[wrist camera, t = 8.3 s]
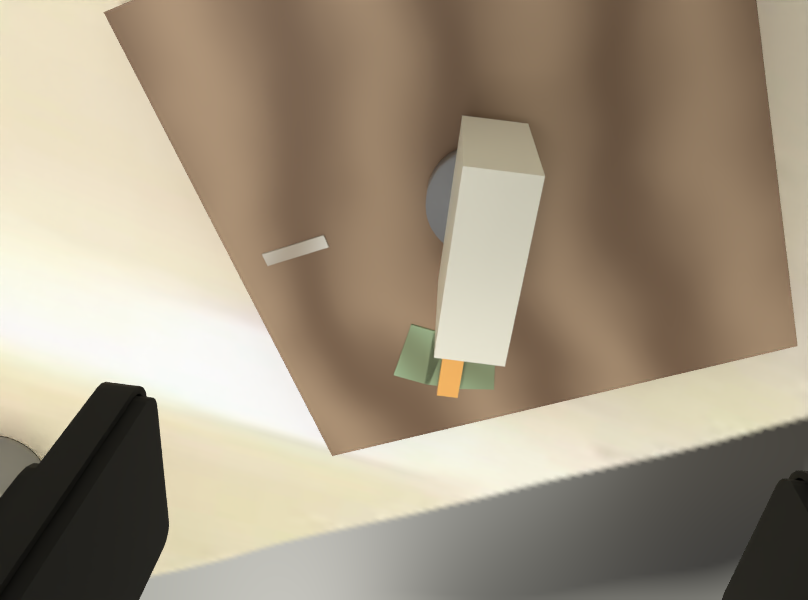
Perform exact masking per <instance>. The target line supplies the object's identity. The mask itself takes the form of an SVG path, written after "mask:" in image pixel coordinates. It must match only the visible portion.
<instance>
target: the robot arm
mask: <svg viewBox="0 0 808 600" xmlns="http://www.w3.org/2000/svg"><path fill="white" fill-rule="evenodd" d="M168 529H169V518H168V508H167V498H166V488H165V478H164V469H163V459H162V449H161V439H160V429H159V419H158V409H157V403H156V400H155V399H154V398H151V397H147V396H146V391H145V390H144V388H143V387H141V386H133V385H125V384H118V383H110V382H104V383H101V384H100V385H99V386H98V387H97V389H96V390H95V391H94V393H93V394H92V395H91V396H90V398H89V399H88V400H87V402H86V403H85V404H84V406H83V407H82V408H81V410H80V411H79V412H78V413H77V415H76V416H75V417H74V419H73V420H72V421H71V423H70V424H69V425H68V427H67V428H66V429H65V431H64V432H63V433H62V434H61V436H60V437H59V438H58V440H57V441H56V442H55V444H54V445H53V446H52V448H51V449H50V450H49V451H48V453H47V454H46V455H45V457H44V458H43V459H42V461H41V462H40V463H33V464H31V465H29V466H27V467H25V468H24V469H23V470H22V471H21V472H20V473H19V474H18V475H17V477H16V478H15V479H14V481H13V482H12V483H11V484H10V486H9V487H8V488H7V489H6V491H5V492H4V493H3V495H2V496H1V497H0V600H139V599H140V596H141V594H142V592H143V590H144V588H145V586H146V584H147V582H148V580H149V578H150V575H151V573H152V571H153V569H154V567H155V565H156V563H157V561H158V558H159V556H160V554H161V552H162V550H163V548H164V545H165V543H166V539H167V535H168ZM722 600H808V471H795V472H794V473H792V474H791V476H790V477H789V479H782V480H780V481H779V482H778V484H777V485H776V487H775V490H774V491H773V494H772V496H771V498H770V500H769V502H768V504H767V506H766V508H765V510H764V512H763V514H762V516H761V518H760V521H759V522H758V524H757V527H756V529H755V531H754V533H753V535H752V537H751V539H750V541H749V543H748V545H747V547H746V550H745V551H744V553H743V555H742V558H741V559H740V562H739V564H738V566H737V568H736V570H735V572H734V574H733V576H732V578H731V580H730V582H729V584H728V586H727V588H726V590H725V592H724V595H723V598H722Z"/></svg>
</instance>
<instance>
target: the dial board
mask: <svg viewBox="0 0 808 600" xmlns="http://www.w3.org/2000/svg"><path fill="white" fill-rule="evenodd" d="M104 14H105V16H106V17H107V19H108V21H109V23H110V25H111V27H112V29H113V31H114V33H115V35H116V37H117V39H118V41H119V43H120V45H121V47H122V49H123V50H124V52H125V54H126V56H127V58H128V60H129V62H130V64H131V66H132V68H133V70H134V72H135V74H136V76H137V78H138V80H139V82H140V83H141V85H142V87H143V89H144V91H145V93H146V95H147V97H148V99H149V101H150V103H151V105H152V107H153V109H154V111H155V113H156V115H157V117H158V118H159V120H160V122H161V124H162V126H163V128H164V130H165V132H166V134H167V136H168V138H169V140H170V142H171V144H172V146H173V148H174V150H175V151H176V153H177V155H178V157H179V159H180V161H181V163H182V165H183V167H184V169H185V171H186V173H187V175H188V177H189V179H190V181H191V183H192V184H193V186H194V188H195V190H196V192H197V194H198V196H199V198H200V200H201V202H202V204H203V206H204V208H205V210H206V212H207V214H208V216H209V217H210V219H211V221H212V223H213V225H214V227H215V229H216V231H217V233H218V235H219V237H220V239H221V241H222V243H223V245H224V247H225V249H226V250H227V252H228V254H229V256H230V258H231V260H232V262H233V264H234V266H235V268H236V270H237V272H238V274H239V276H240V278H241V280H242V282H243V284H244V285H245V287H246V289H247V291H248V293H249V295H250V297H251V299H252V301H253V303H254V305H255V307H256V309H257V311H258V313H259V315H260V317H261V318H262V320H263V322H264V324H265V326H266V328H267V330H268V332H269V334H270V336H271V338H272V340H273V342H274V344H275V346H276V348H277V350H278V351H279V353H280V355H281V357H282V359H283V361H284V363H285V365H286V367H287V369H288V371H289V373H290V375H291V377H292V379H293V381H294V383H295V384H296V386H297V388H298V390H299V392H300V394H301V396H302V398H303V400H304V402H305V404H306V406H307V408H308V410H309V412H310V414H311V416H312V417H313V419H314V421H315V423H316V425H317V427H318V429H319V431H320V433H321V435H322V437H323V439H324V441H325V443H326V445H327V447H328V449H329V450H330V452H331V454H332V456H334V455H338V454H342V453H347V452H351V451H355V450H359V449H364V448H368V447H372V446H376V445H381V444H385V443H389V442H393V441H397V440H402V439H406V438H410V437H414V436H419V435H423V434H427V433H431V432H435V431H440V430H444V429H448V428H452V427H457V426H461V425H465V424H469V423H474V422H478V421H482V420H486V419H490V418H495V417H499V416H503V415H507V414H512V413H516V412H520V411H524V410H529V409H533V408H537V407H541V406H545V405H550V404H554V403H558V402H562V401H567V400H571V399H575V398H579V397H583V396H588V395H592V394H596V393H600V392H605V391H609V390H613V389H617V388H622V387H626V386H630V385H634V384H638V383H643V382H647V381H651V380H655V379H660V378H664V377H668V376H672V375H677V374H681V373H685V372H689V371H693V370H698V369H702V368H706V367H710V366H715V365H719V364H723V363H727V362H731V361H736V360H740V359H744V358H748V357H753V356H757V355H761V354H765V353H770V352H774V351H778V350H782V349H786V348H791V347H795V346H797V338H796V330H795V321H794V313H793V305H792V296H791V288H790V280H789V271H788V263H787V254H786V246H785V238H784V229H783V221H782V212H781V204H780V196H779V187H778V179H777V170H776V162H775V154H774V145H773V137H772V128H771V120H770V112H769V103H768V95H767V87H766V78H765V70H764V61H763V53H762V45H761V36H760V28H759V19H758V11H757V3H756V0H132V1H130V2H127V3H125V4H123V5H120V6H118V7H115V8H113V9H111V10H108V11H106V12H104ZM462 115H463V116H471V117H479V118H487V119H495V120H503V121H511V122H520V123H528V124H529V128H530V131H531V134H532V137H533V140H534V143H535V146H536V149H537V153H538V156H539V159H540V162H541V165H542V168H543V171H544V174H545V179H544V184H543V188H542V193H541V198H540V203H539V207H538V212H537V217H536V222H535V226H534V231H533V236H532V240H531V245H530V250H529V255H528V259H527V264H526V269H525V273H524V278H523V283H522V288H521V292H520V297H519V302H518V307H517V311H516V316H515V321H514V325H513V330H512V335H511V340H510V344H509V349H508V354H507V358H506V363H505V367H504V366H496V365H488V364H480V363H472V362H464V364H463V370H462V376H461V381H460V387H459V393H458V398H454V397H446V396H438V395H437V386H438V380H439V373H440V367H441V361H442V359H441V358H434V347H435V329H436V311H437V293H438V278H439V271H440V264H441V257H442V250H443V244H444V243H443V242H441V240H440V239H439V238H438V237H437V236H436V235H435V233H434V232H433V230H432V229H431V227H430V225H429V222H428V219H427V215H426V195H427V187H428V182H429V179H430V177H431V174H432V172H433V170H434V169H435V167H436V166H437V165H438V163H439V162H440V161H441V160H442V159H443V158H444V157H446V156H447V155H448V154H449V153H451V152H453V151H454V150H456V149H457V148H458V141H459V134H460V127H461V120H462Z"/></svg>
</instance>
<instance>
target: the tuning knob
mask: <svg viewBox="0 0 808 600" xmlns="http://www.w3.org/2000/svg"><path fill="white" fill-rule="evenodd" d="M544 179H545V174H544V171H543V168H542V165H541V162H540V159H539V156H538V153H537V149H536V146H535V143H534V140H533V137H532V134H531V131H530V128H529V124H528V123H520V122H511V121H503V120H495V119H487V118H479V117H471V116H463V115H462V120H461V127H460V134H459V141H458V148H457V149H456V150H454V151H453V152H451V153H449V154H448V155H447V156H446V157H444V158H443V159H442V160H441V161H440V162H439V163H438V165H437V166H436V167H435V169H434V170H433V172H432V174H431V177H430V179H429V182H428V187H427V195H426V215H427V219H428V222H429V225H430V227H431V229H432V230H433V232H434V233H435V235H436V236H437V237H438V238H439V239H440V240H441V242H443V243H444V244H443V250H442V257H441V264H440V271H439V278H438V293H437V311H436V329H435V347H434V358H441V359H442V361H441V367H440V373H439V380H438V386H437V395H438V396H446V397H454V398H458V393H459V387H460V381H461V376H462V370H463V364H464V362H472V363H480V364H488V365H496V366H504V367H505V363H506V358H507V354H508V349H509V344H510V340H511V335H512V330H513V325H514V321H515V316H516V311H517V307H518V302H519V297H520V292H521V288H522V283H523V278H524V273H525V269H526V264H527V259H528V255H529V250H530V245H531V240H532V236H533V231H534V226H535V222H536V217H537V212H538V207H539V203H540V198H541V193H542V188H543V184H544Z"/></svg>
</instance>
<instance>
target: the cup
mask: <svg viewBox="0 0 808 600" xmlns="http://www.w3.org/2000/svg"><path fill="white" fill-rule="evenodd" d="M40 462H41V461H40V460H39V458H38V457H37V456H36V455H35V454H34V453H33V452H32V451H31V450H30V449H29V448H27V447H26V446H24V445H23V444H21V443H19V442H17V441H15V440H12V439H9V438H6V437H1V436H0V497H1V496H2V495H3V493H4V492H5V491H6V489H7V488H8V487H9V486H10V484H11V483H12V482H13V481H14V479H15V478H16V477H17V475H18V474H19V473H20V472H21V471H22V470H23V469H24V468H25V467H27V466H29V465H31V464H33V463H40Z"/></svg>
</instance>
